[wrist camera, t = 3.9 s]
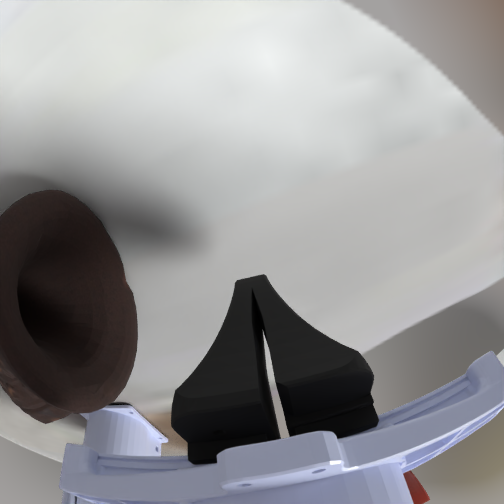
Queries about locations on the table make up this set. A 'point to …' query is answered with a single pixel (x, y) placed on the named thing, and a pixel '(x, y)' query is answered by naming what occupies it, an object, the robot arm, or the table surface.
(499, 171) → the table surface
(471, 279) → the table surface
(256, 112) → the table surface
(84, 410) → the dark brown rounded piece
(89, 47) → the table surface
